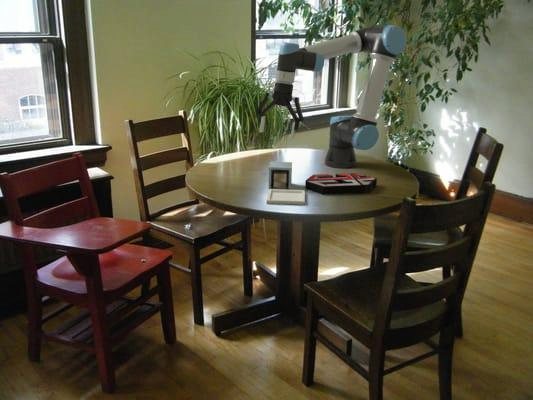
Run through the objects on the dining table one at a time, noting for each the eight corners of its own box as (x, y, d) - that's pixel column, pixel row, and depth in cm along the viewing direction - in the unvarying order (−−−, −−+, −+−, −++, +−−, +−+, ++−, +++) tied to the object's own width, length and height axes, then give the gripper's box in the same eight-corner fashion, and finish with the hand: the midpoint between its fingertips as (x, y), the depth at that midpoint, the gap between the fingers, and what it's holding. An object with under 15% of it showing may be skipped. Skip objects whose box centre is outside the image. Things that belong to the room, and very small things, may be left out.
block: (286, 184, 221) (286, 170, 219) (286, 188, 216) (286, 174, 214) (274, 184, 221) (274, 170, 219) (273, 187, 216) (274, 173, 215)
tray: (304, 193, 210) (304, 190, 209) (304, 205, 196) (304, 201, 196) (269, 192, 210) (269, 189, 210) (266, 203, 197) (266, 200, 197)
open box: (291, 183, 223) (292, 162, 220) (290, 189, 214) (291, 167, 211) (269, 182, 223) (270, 161, 220) (268, 189, 215) (268, 167, 212)
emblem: (310, 196, 207) (384, 193, 212) (311, 187, 206) (384, 184, 211) (300, 183, 224) (368, 180, 229) (300, 175, 223) (369, 172, 228)
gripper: (252, 77, 214) (245, 130, 219) (311, 87, 206) (303, 141, 212) (259, 78, 221) (252, 129, 226) (316, 87, 213) (308, 139, 218)
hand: (276, 135), depth 219 cm, fingers open, 13 cm apart
